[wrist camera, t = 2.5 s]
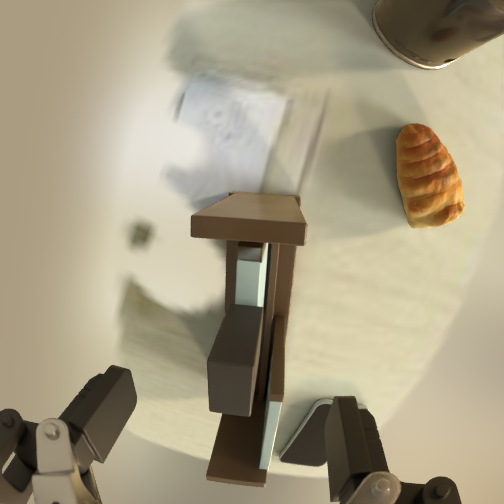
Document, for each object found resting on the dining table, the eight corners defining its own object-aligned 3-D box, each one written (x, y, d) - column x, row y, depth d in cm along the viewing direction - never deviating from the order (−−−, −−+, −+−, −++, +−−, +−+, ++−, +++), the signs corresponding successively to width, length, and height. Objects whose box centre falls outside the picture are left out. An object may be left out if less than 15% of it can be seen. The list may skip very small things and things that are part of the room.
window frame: (299, 196, 25) (319, 224, 12) (277, 390, 31) (270, 488, 18) (231, 191, 25) (179, 214, 12) (226, 385, 31) (200, 479, 19)
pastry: (374, 135, 22) (389, 130, 19) (430, 117, 21) (450, 111, 17) (406, 231, 24) (424, 241, 21) (458, 208, 23) (480, 214, 19)
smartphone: (276, 461, 34) (318, 401, 30) (276, 456, 35) (318, 396, 30) (321, 467, 34) (371, 409, 29) (321, 463, 35) (370, 404, 30)
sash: (274, 215, 23) (260, 289, 9) (266, 316, 26) (247, 453, 12) (252, 213, 24) (205, 284, 9) (246, 314, 26) (211, 448, 12)
